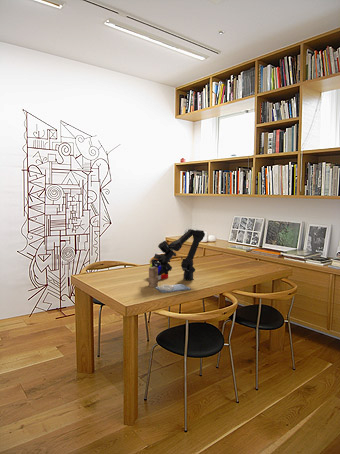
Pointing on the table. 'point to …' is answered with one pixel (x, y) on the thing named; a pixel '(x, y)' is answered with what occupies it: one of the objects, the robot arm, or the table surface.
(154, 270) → the pillar
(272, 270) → the table surface
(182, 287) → the blueprint board
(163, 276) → the puzzle toy
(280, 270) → the table surface
